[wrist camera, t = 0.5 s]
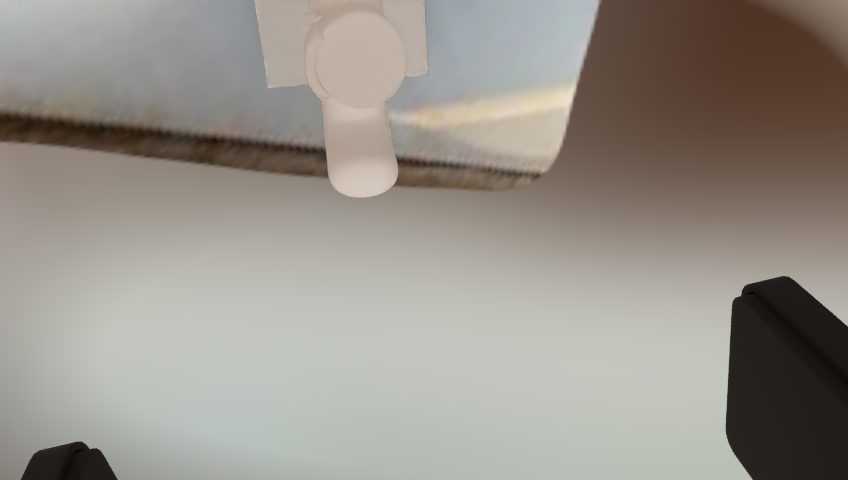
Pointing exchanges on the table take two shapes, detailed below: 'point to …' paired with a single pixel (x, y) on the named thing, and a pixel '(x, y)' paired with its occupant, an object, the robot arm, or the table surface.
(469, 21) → the table surface
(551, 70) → the table surface
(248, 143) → the table surface
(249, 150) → the table surface
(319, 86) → the figurine
